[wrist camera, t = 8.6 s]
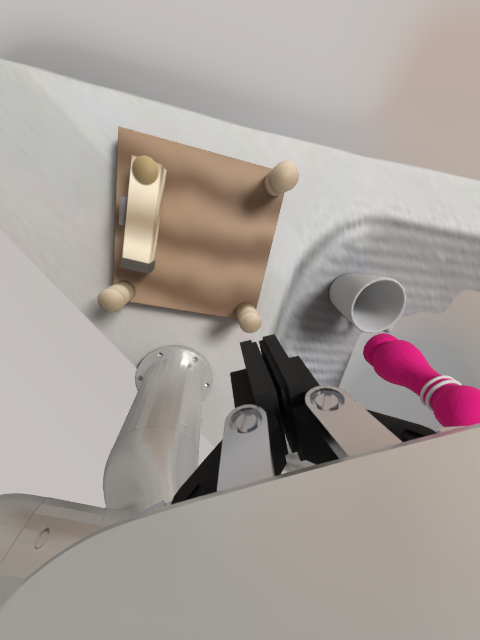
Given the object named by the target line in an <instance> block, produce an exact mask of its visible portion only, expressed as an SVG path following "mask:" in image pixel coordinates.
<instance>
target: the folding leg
mask: <svg viewBox="0 0 480 640" xmlns="http://www.w3.org/2000/svg"><path fill="white" fill-rule="evenodd" d="M166 172H167V170H166V169H165V168H164V167H163V165H162V164H159V163H156V162H155V161H154V160H153V159H152V158H150V157H148V156H145V155H142V156H138V157H137V156H133V155H132V160H131V171H130V181H129V192H128V203H127V214H126V224H125V235H124V246H123V257H121V265H120V267H121V268H125V269H130V270H134V271H139V272H143V273H147V274H148V273H150V272H151V271H153V270H154V266H155V260H154V259H155V252H156V245H157V237H158V230H159V223H160V216H161V208H162V201H163V194H164V186H165V179H166Z"/></svg>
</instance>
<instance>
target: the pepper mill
mask: <svg viewBox="0 0 480 640" xmlns="http://www.w3.org/2000/svg"><path fill="white" fill-rule="evenodd" d="M363 354H364V358H365V359H366V361H367V362H368V363H370V364H371V365H372V366H373V367H374V369H375V371H376V373H377V374H378V375H379V376H380V377H381V378H383V379H384V380H386V381H388V382H390V383H393V384H397V385H401V386H404V387H406V388H408V389H410V390H412V391H413V392H415V393H416V394H417V395H418V396H419V397H420V400H421V402H422V403H423V404H424V405H425V406H427V407H428V408H429V409H430V410H432V411H434V415H435V417H436V419H437V420H438V421H439V423H440V424H441V425H442V426H444V427H456V426H470V425H474V424H478V423H480V390H479V389H477V388H474V387H471V386H464V385H461V383H459V382H458V381H456V380H454V379H453V378H452V377H449V376H442V375H440V374H438V373H437V372H436V371H434V370H433V369H432V368H431V367H430V365H429V364H428V362H427V361H426V359H425V358H424V356H423V354H422V353H421V352H420V351H419V350H418V349H417V348H416V347H415V346H414V345H412V344H411V343H409V342H407V341H403V340H398V339H397V338H395V337H393V336H392V335H389V334H378V335H376V336H374V337H372V338H371V339H370V340H369V341H368V342H367V343H366V345H365V347H364V351H363Z"/></svg>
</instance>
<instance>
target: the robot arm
mask: <svg viewBox="0 0 480 640" xmlns="http://www.w3.org/2000/svg"><path fill="white" fill-rule="evenodd" d="M259 343H260V348H261V353H262V355H261V353H260V350H259V348H258V345H257V343H256V342H253V343H252V342H251V340H249V341H244V342H240V345H241V350H242V354H243V358H244V362H245V367H246V369H243V370H239V371H235V372H231V373H230V376H231V383H232V390H233V397H234V404H235V409H234V410H232V411H231V412H230V413H229V414H228V416H227V417H226V420H225V424H224V433H223V439H222V441H221V442H220V443H219V444H218V445H217V446H216V447H215V449H214V450H213V451H212V452H211V453H210V454H209V455H208V456H207V458H206V459H205V460H204V461H203V462H202V463H201V464H200V466H199V467H198V457H199V440H200V424H201V422H202V418H201V407H202V401H203V400H204V399H205V398H206V397H207V395H208V394H209V392H210V389H211V386H212V373H211V369H210V367H209V364H208V363H207V362H206V360H205V359H204V358H203V357H202V356H201V355H200V354H198V353H197V352H195V351H193V350H191V349H188V348H185V347H180V346H167V347H162V348H159V349H156V350H154V351H152V352H151V353H149V354H148V355H147V356H145V358H144V359H143V360H142V361H141V363H140V365H139V366H138V369H137V371H136V376H135V382H136V387H137V390H138V393H137V395H136V398H135V400H134V402H133V404H132V406H131V409H130V411H129V413H128V415H127V417H126V420H125V422H124V424H123V427H122V429H121V431H120V433H119V435H118V437H117V440H116V442H115V444H114V446H113V448H112V450H111V453H110V455H109V458H108V460H107V463H106V466H105V471H104V479H103V490H104V499H105V504H106V508H100V507H95V506H90V505H85V504H80V503H74V502H69V501H64V500H59V499H53V498H47V497H41V496H35V495H28V494H3V495H0V640H480V423H478V424H474V425H470V426H456V427H438V429H437V432H435V431H433V430H431V429H429V428H427V427H424V426H422V425H419V424H415V423H412V422H408V421H405V420H401V419H398V418H394V417H391V416H387V415H384V414H380V413H377V412H373V411H370V410H366V409H364V408H363V407H362V406H361V405H360V404H359V403H357V402H356V401H355V400H354V399H353V398H352V397H350V396H349V395H348V394H347V393H346V392H345V391H343V390H342V389H340V388H337V387H335V386H329V385H323V386H320V385H319V384H318V382H317V381H316V380H315V378H314V377H313V375H312V374H311V373H310V371H309V370H308V368H307V367H306V366H305V364H304V363H303V361H302V360H301V359H300V357H299V356H296V357H292V358H289V357H288V356H287V354H286V352H285V351H284V349H283V348H282V346H281V344H280V343H279V341H278V340H277V338H276V336H275V335H274V334H273V335H269V336H265V337H263V340H261V341H259ZM161 353H162V354H161ZM194 357H196V358H194ZM284 433H285V434H284ZM285 435H286V438H287V441H288V443H289V446H290V449H291V451H292V453H295V452H297V453H298V456H299V458H300V461H303V460H307V461H310V462H312V463H314V466H311V467H307V468H303V469H299V470H296V471H292V472H288V473H284V474H281V472H282V470H283V469H284V467H285V465H286V464H287V463H286V458H285V455H287V454H288V450H287V445H286V439H285ZM280 474H281V475H280Z"/></svg>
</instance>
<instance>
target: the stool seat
mask: <svg viewBox="0 0 480 640" xmlns="http://www.w3.org/2000/svg"><path fill="white" fill-rule="evenodd" d="M132 155H133V156H137V157H138V156H142V155H145V156H148V157H150V158H152V159H153V160H154V161H155V162H156V163H159V164H162V165H163V167H164V168H165V169H166V170H167V172H166V179H165V186H164V194H163V201H162V208H161V216H160V223H159V230H158V237H157V245H156V252H155V259H154V260H155V266H154V270H153V271H151V272H150V273H148V274H147V273H143V272H139V271H134V270H130V269H125V268H121V267H120V265H121V257H123V246H124V235H125V224H126V214H127V203H128V192H129V181H130V171H131V160H132ZM298 177H299V173H298V169H297V167H296V165H295V164H294V163H292V162H290V161H282V162H280V163H279V164H278V165H277V166H276V167H275V168H273V169H271V168H267V167H263V166H260V165H256V164H253V163H249V162H245V161H242V160H238V159H235V158H231V157H227V156H224V155H220V154H216V153H213V152H209V151H206V150H202V149H198V148H195V147H191V146H187V145H184V144H180V143H177V142H173V141H169V140H166V139H162V138H159V137H155V136H151V135H148V134H144V133H140V132H137V131H133V130H130V129H126V128H122V127H119V126H118V156H117V187H116V218H115V249H114V280H113V285H112V286H110V287H108V288H107V289H105V290H103V291H102V292H100V294H99V295H98V303H99V305H100V306H101V307H102V308H103V309H104V310H106V311H108V312H117V311H119V310H120V309H121V308H122V307H123V306H125V305H126V304H127V303H128V302H135V303H141V304H147V305H153V306H160V307H166V308H172V309H178V310H185V311H191V312H197V313H203V314H210V315H216V316H222V317H228V318H235V319H238V320H239V324H240V327H241V329H242V330H243V331H244V332H247V333H253V332H255V331H257V330H258V329H259V328H260V326H261V319H260V317H259V315H258V313H257V311H256V307H257V303H258V299H259V295H260V291H261V287H262V282H263V278H264V274H265V270H266V266H267V262H268V258H269V254H270V250H271V245H272V241H273V237H274V233H275V229H276V225H277V221H278V217H279V213H280V208H281V204H282V200H283V196H284V192H287V191H289V190H291V189H292V188H293V187H294V186H295V185H296V183H297V181H298Z"/></svg>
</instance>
